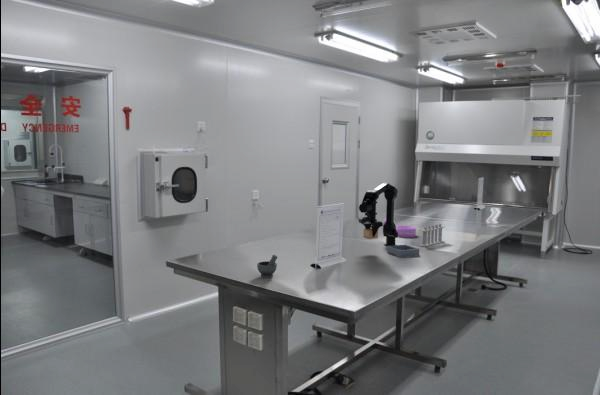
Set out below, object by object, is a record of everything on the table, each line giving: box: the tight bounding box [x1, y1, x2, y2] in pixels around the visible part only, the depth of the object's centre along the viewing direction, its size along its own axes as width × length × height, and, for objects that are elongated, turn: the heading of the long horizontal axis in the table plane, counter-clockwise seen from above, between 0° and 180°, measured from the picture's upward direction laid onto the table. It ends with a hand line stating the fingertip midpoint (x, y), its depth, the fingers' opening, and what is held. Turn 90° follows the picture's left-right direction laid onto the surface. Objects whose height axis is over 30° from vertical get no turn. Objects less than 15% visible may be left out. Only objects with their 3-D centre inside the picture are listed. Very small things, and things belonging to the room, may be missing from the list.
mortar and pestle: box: [256, 254, 278, 279], centre depth 235 cm, size 11×9×12 cm
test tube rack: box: [419, 223, 446, 248], centre depth 318 cm, size 25×4×13 cm, turn 132°
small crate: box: [362, 228, 379, 240], centre depth 290 cm, size 6×6×5 cm
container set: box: [382, 218, 417, 238], centre depth 351 cm, size 25×15×13 cm, turn 62°
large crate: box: [386, 244, 420, 258], centre depth 289 cm, size 14×14×4 cm
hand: (370, 235), depth 290 cm, fingers closed on small crate, 6 cm apart
